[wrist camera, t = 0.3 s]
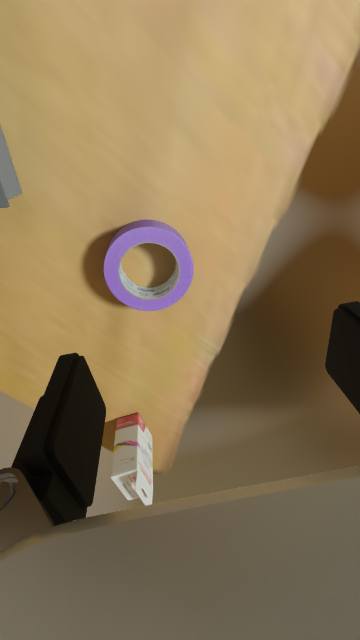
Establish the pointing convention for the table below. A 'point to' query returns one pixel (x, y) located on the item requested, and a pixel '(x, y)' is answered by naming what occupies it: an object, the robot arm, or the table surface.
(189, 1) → the table surface
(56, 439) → the robot arm
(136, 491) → the ink cartridge box
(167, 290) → the masking tape
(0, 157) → the stand
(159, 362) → the table surface
